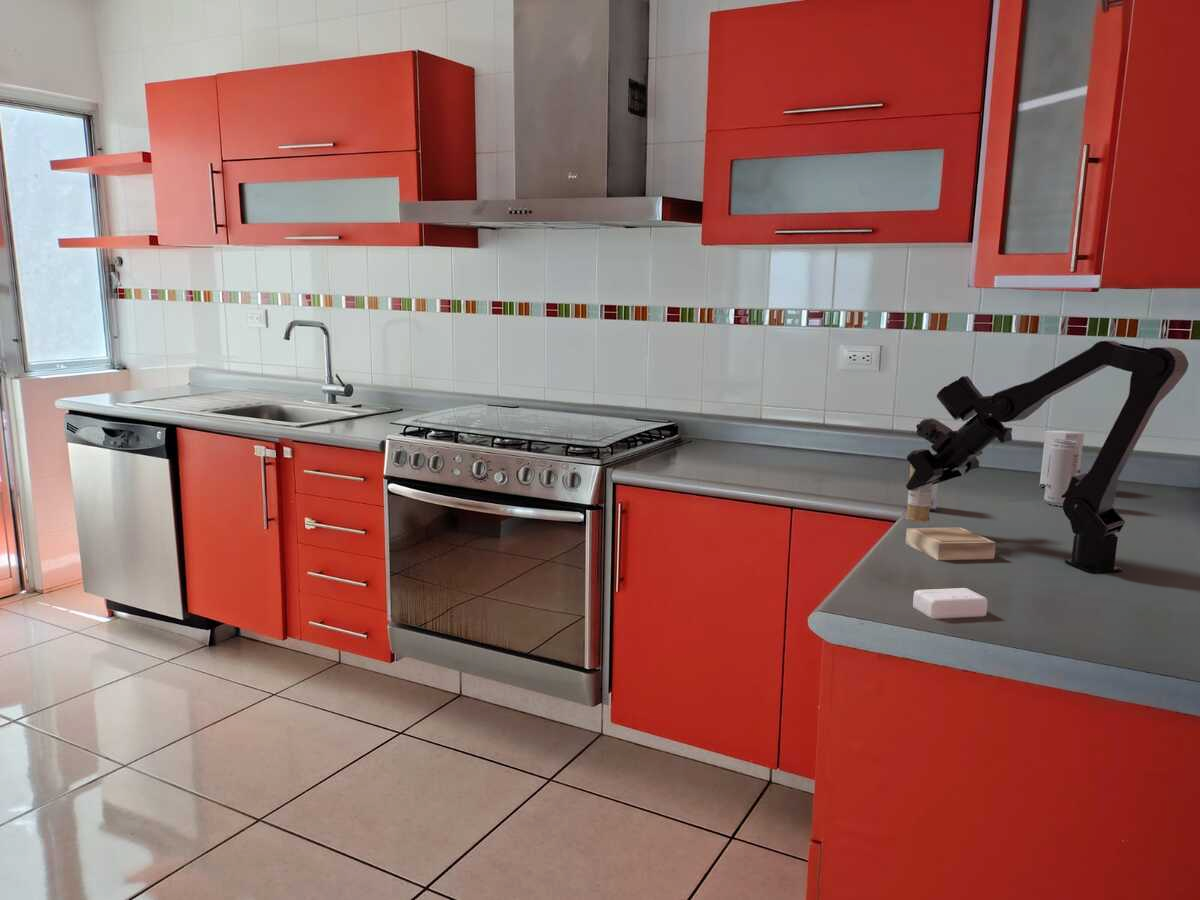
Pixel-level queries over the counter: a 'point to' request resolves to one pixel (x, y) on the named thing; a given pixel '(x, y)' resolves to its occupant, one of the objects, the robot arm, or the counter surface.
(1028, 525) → the counter surface
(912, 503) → the sprinkles bottle
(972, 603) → the soap
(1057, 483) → the energy drink can
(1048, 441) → the skincare box
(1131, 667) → the counter surface
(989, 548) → the beech tray
